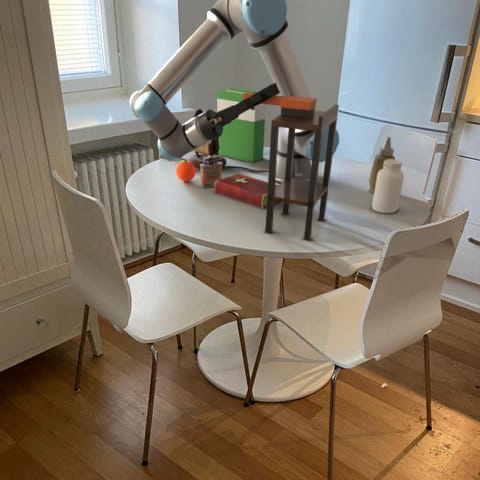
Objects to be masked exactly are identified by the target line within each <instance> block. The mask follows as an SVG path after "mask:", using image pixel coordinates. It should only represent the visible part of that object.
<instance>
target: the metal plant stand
mask: <svg viewBox="0 0 480 480" xmlns="http://www.w3.org/2000/svg"><path fill="white" fill-rule="evenodd" d="M339 107H340V105H339V104H334V105H332V106H331V107H330V108H328V109H327V110H326V111H325V110H323V111H314V115H313V116H312V117H310V118H309V119H307V118H298V117H289V116H281V115H280V114H279V115H278V116H276V117H274V118H272V119H271V125H270V141H269V157H268V159H269V161H268V170H269V172H268V176H267V182H268V193H267V207H266V211H265V212H266V213H265V231H264V232H265V233H267V234H271V233H272V232H273V227H274V226H273V225H274V212H275V211H274V209H275V204H274V201H276V202H278V203H282V212H281V214H282V215H284V216H288V215H289V214H290V205H295V206H301V207H306V213H305V214H306V215H305V223H304V235H303V240H304V241H310V240H311V238H312V232H313V231H312V230H313V224H314V223H313V222H314V213H315V206H316V205H317V203H318V202H320V203H319V210H318V211H319V212H318V219H317V220H318V221H320V222H324V221H325V219H326V212H327V204H328V195H329V188H330V181H331V171H332V164H333V156H334V154H333V149H334V141H335V133H336V130H337V124H338V116H339ZM328 126H329V133H328V142H327V150H326V159H325V161H324V169H323V177H322V183H321V182H318V179H319V167H320V162H319V160H320V151H321V142H322V133H323V130H324V129H325V128H326V127H328ZM279 127H283V128H289V131H288V145H287V158H286V171H285V180H284V181H283V182H282V183H279V184H278V185H279V186H278V187H277V188H275V184H276V166H277V150H278V135H279ZM296 129H300V130H309V131H315V136H314V145H313V155H312V161H311V174H310V182H307V181H300V180H294V179H292V167H293V155H294V142H295V130H296Z"/></svg>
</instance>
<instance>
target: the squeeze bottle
mask: <svg viewBox="0 0 480 480" xmlns="http://www.w3.org/2000/svg"><path fill="white" fill-rule="evenodd" d="M394 151H395V149H394V148H392V138H391V136H387V137H386V139H385V141H384V144H383V146H382V147H379V149H378V153H377V154H376V155H375V156H374V160H373V163H372V166H371V169H370V170H371V171H370V174H369V178H368V184H369V190H370V192H371V193H373V194H374V192H375V186H376V180H377V174H378V172H379V171H380V170H381V169H383V164H384V161H385V160H387V159H395V160H396V157H395V156H394V153H395V152H394Z"/></svg>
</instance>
